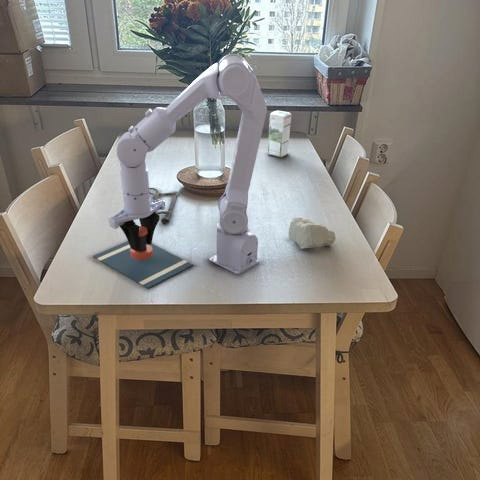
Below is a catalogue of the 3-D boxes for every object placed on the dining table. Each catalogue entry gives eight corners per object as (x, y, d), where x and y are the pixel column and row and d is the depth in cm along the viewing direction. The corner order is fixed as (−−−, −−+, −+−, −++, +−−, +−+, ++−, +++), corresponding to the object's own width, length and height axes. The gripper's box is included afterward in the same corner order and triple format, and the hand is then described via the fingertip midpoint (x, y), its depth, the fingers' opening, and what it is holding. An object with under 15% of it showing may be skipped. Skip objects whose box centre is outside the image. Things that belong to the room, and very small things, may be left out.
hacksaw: (168, 225, 136) (168, 220, 135) (130, 224, 136) (130, 218, 135) (179, 190, 155) (179, 185, 154) (146, 188, 155) (145, 184, 154)
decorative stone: (342, 240, 129) (331, 218, 121) (317, 266, 129) (304, 245, 121) (313, 220, 135) (301, 198, 127) (290, 245, 135) (276, 224, 127)
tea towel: (193, 265, 120) (193, 264, 120) (147, 289, 111) (147, 287, 111) (138, 237, 130) (138, 236, 130) (92, 257, 121) (92, 255, 121)
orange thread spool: (157, 254, 120) (155, 229, 116) (140, 262, 117) (138, 237, 113) (143, 246, 122) (140, 222, 119) (126, 254, 119) (123, 229, 115)
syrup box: (288, 153, 185) (292, 112, 177) (280, 158, 181) (284, 116, 173) (274, 150, 188) (277, 109, 179) (266, 154, 184) (269, 113, 175)
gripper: (149, 176, 116) (153, 230, 125) (97, 194, 108) (105, 250, 116) (170, 185, 113) (173, 239, 121) (118, 204, 104) (124, 262, 112)
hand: (141, 246), depth 118 cm, fingers closed on orange thread spool, 3 cm apart
